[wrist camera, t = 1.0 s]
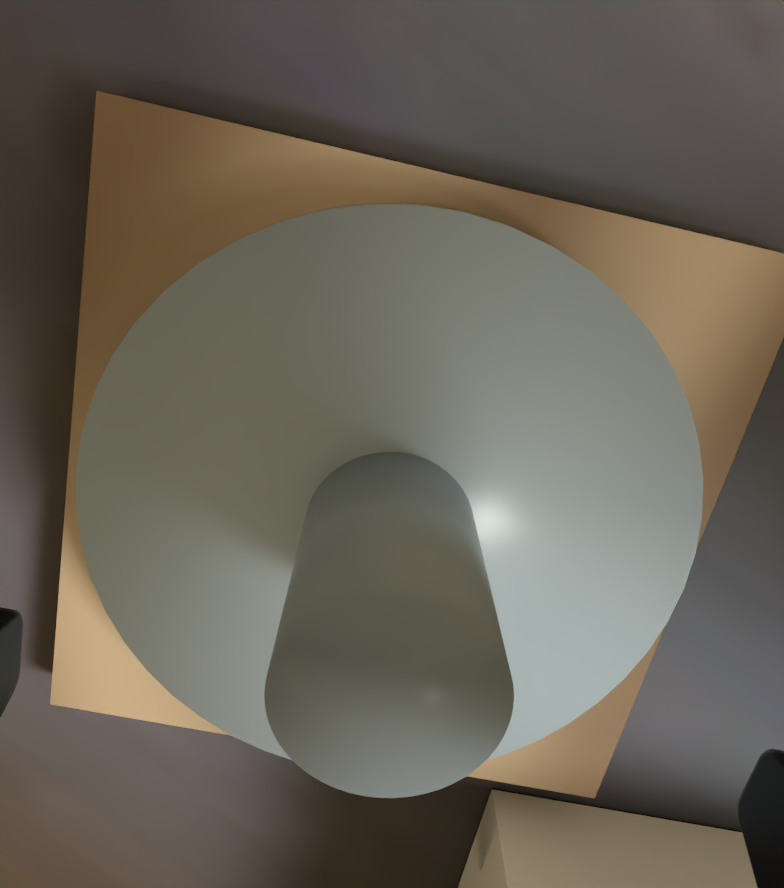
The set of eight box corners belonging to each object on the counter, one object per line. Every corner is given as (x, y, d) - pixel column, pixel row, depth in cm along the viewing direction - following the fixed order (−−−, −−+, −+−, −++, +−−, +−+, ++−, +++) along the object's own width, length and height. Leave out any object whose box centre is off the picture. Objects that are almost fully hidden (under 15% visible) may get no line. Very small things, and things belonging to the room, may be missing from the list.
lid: (775, 283, 13) (1039, 362, 8) (579, 777, 16) (666, 1056, 11) (126, 131, 12) (-79, 103, 7) (76, 688, 16) (-80, 946, 10)
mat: (790, 255, 13) (814, 260, 13) (586, 771, 17) (594, 798, 17) (114, 94, 12) (96, 90, 12) (65, 679, 16) (50, 704, 16)
